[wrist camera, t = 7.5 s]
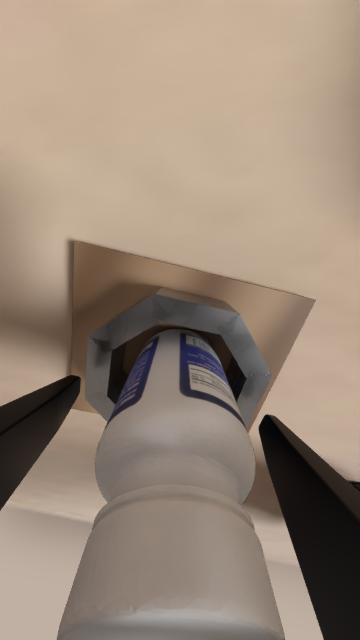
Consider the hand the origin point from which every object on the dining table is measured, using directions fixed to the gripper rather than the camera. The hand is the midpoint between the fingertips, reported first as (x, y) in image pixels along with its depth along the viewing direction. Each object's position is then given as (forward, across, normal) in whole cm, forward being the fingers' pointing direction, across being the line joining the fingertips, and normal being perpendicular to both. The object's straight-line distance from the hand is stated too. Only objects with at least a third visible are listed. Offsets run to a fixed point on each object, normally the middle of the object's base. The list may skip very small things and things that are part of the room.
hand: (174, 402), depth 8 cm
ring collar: (+4, 0, 0) cm, 4 cm away
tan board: (+4, 0, 0) cm, 4 cm away
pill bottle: (+4, 0, 0) cm, 4 cm away
